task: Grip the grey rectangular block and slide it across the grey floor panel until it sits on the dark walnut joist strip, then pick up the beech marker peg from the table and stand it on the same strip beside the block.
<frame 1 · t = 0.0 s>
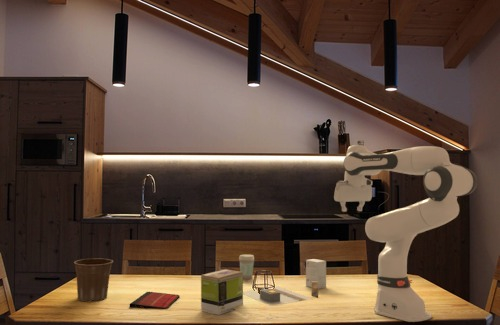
hand: (351, 211, 208), 39 cm above the table, tool pointing down, fingers open, 8 cm apart
small box: (315, 287, 227), on the table
grey rectangular block: (269, 299, 196), point 1 cm above the table, touching floor panel
plant pot: (92, 298, 201), on the table
marker peg: (314, 297, 206), on the table
floor panel: (274, 298, 203), on the table
coffee cup: (246, 278, 246), on the table
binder: (156, 303, 197), on the table
tea box: (222, 309, 186), on the table
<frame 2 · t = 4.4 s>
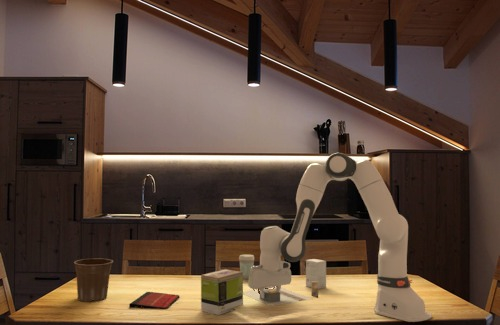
hand: (269, 297, 196), 3 cm above the table, tool pointing down, fingers closed on grey rectangular block, 5 cm apart
grey rectangular block: (269, 299, 196), point 1 cm above the table, touching floor panel, gripper
everything else where it was.
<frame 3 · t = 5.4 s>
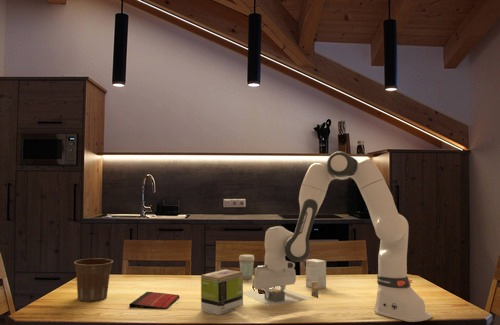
hand: (274, 296, 197), 2 cm above the table, tool pointing down, fingers closed on grey rectangular block, 5 cm apart
grey rectangular block: (274, 299, 197), point 2 cm above the table, touching gripper
everything else where it was.
when the fingers open (3 cm above the table, at t = 7.5 s): grey rectangular block stays where it is, resting on floor panel.
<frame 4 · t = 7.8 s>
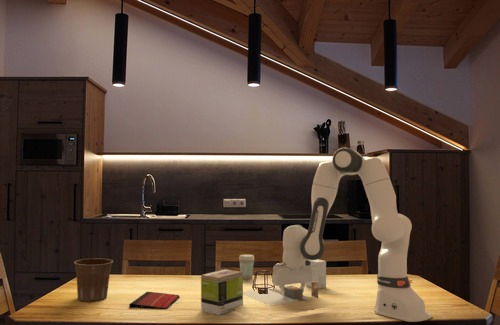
hand: (292, 293, 202), 3 cm above the table, tool pointing down, fingers open, 8 cm apart
grey rectangular block: (292, 296, 202), point 1 cm above the table, touching floor panel
everything else where it was.
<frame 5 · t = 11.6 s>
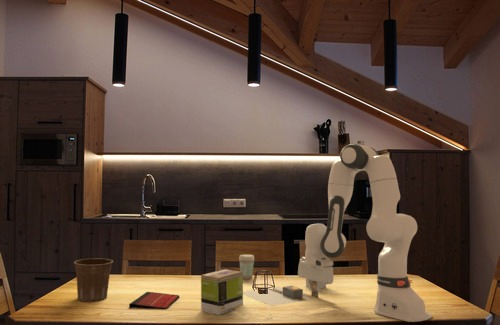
hand: (314, 290, 206), 3 cm above the table, tool pointing down, fingers closed on marker peg, 3 cm apart
marker peg: (314, 297, 206), on the table, touching gripper
everything else where it was.
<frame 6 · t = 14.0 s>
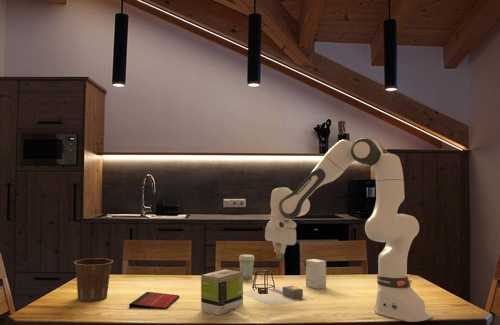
hand: (279, 252, 212), 19 cm above the table, tool pointing down, fingers closed on marker peg, 3 cm apart
marker peg: (279, 259, 211), point 16 cm above the table, touching gripper
everything else where it was.
when the fingers open (6 cm above the table, at t = 16.7 s): marker peg stays where it is, resting on floor panel.
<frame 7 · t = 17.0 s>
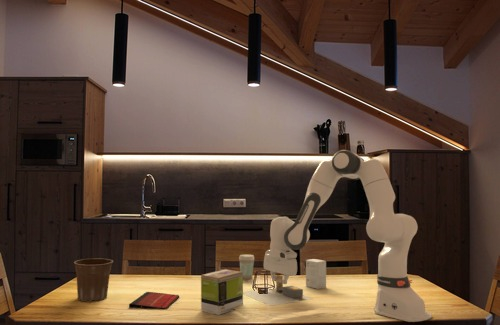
hand: (279, 282, 211), 6 cm above the table, tool pointing down, fingers open, 6 cm apart
marker peg: (279, 291, 211), point 2 cm above the table, touching floor panel
everything else where it was.
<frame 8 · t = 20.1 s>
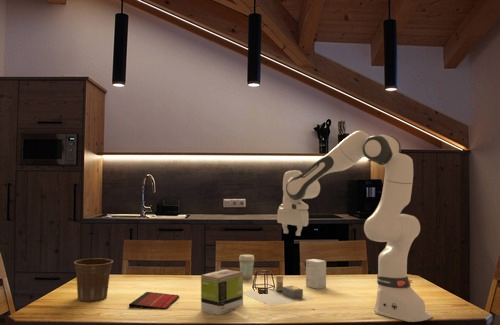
hand: (291, 234, 215), 27 cm above the table, tool pointing down, fingers open, 8 cm apart
nothing on the table moved.
at the end: grey rectangular block inside the target area (0.5 cm from its centre), point 1.5 cm above the table; marker peg inside the target area (0.6 cm from its centre), point 1.5 cm above the table; marker peg tilted 0° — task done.
